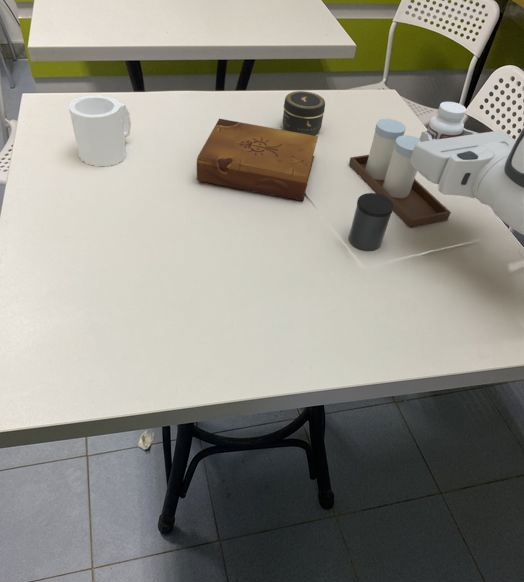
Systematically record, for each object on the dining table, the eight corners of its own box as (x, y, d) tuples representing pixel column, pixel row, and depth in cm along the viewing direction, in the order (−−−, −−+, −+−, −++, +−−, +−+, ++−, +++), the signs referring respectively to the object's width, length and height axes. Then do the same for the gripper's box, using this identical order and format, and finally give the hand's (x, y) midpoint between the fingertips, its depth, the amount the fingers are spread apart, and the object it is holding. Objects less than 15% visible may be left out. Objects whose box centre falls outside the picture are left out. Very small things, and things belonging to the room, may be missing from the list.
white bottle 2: (399, 181, 111) (415, 133, 103) (415, 196, 108) (432, 148, 99) (376, 185, 109) (390, 137, 101) (391, 200, 106) (407, 152, 97)
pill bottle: (452, 164, 97) (475, 106, 88) (442, 177, 93) (465, 118, 85) (422, 153, 99) (442, 96, 90) (411, 165, 95) (431, 107, 87)
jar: (288, 141, 120) (292, 109, 114) (276, 122, 126) (279, 91, 120) (326, 138, 123) (332, 107, 117) (312, 120, 129) (317, 89, 123)
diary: (196, 183, 105) (196, 158, 101) (218, 142, 117) (219, 118, 113) (302, 202, 103) (306, 178, 99) (313, 159, 116) (318, 135, 111)
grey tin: (369, 230, 99) (381, 190, 92) (387, 250, 95) (400, 210, 89) (341, 236, 97) (351, 196, 90) (358, 256, 93) (369, 216, 86)
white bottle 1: (382, 164, 115) (395, 117, 107) (396, 178, 112) (411, 130, 103) (359, 168, 113) (371, 120, 105) (373, 182, 110) (386, 134, 102)
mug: (111, 133, 116) (104, 85, 108) (145, 147, 113) (140, 99, 105) (69, 156, 108) (57, 106, 100) (105, 171, 105) (96, 122, 97)
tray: (348, 167, 115) (350, 157, 113) (383, 161, 118) (385, 151, 116) (408, 230, 100) (412, 220, 98) (446, 222, 103) (451, 212, 101)
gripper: (543, 145, 85) (490, 110, 93) (448, 161, 78) (400, 121, 86) (525, 179, 89) (476, 142, 97) (434, 196, 83) (390, 155, 91)
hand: (440, 132), depth 92 cm, fingers closed on pill bottle, 6 cm apart
